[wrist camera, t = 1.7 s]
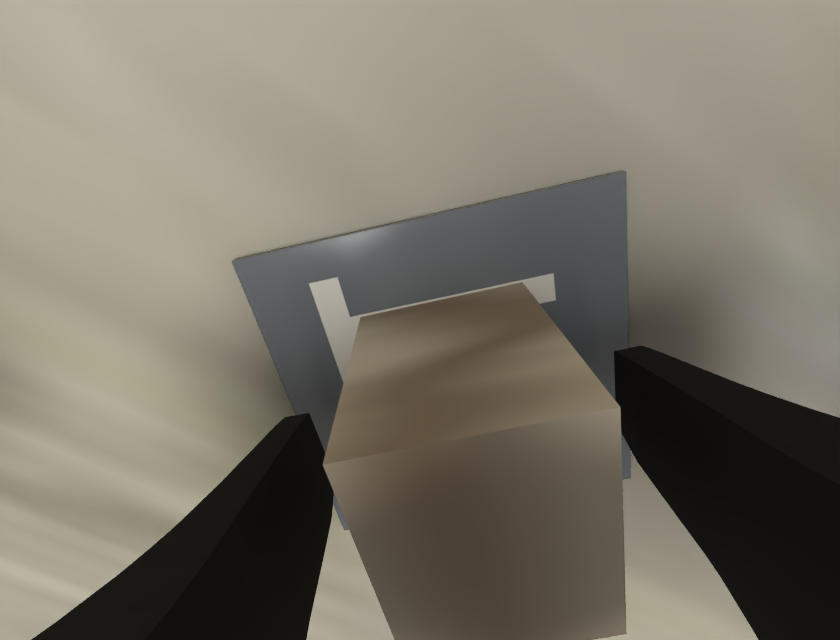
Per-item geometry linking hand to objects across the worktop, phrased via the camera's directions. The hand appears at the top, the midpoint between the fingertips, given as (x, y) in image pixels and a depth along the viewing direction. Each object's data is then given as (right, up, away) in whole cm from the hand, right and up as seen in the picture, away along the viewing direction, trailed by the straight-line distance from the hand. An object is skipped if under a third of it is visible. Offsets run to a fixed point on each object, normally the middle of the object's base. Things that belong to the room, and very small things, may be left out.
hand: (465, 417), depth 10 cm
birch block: (0, +1, +1) cm, 1 cm away
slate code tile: (0, +1, +1) cm, 2 cm away
